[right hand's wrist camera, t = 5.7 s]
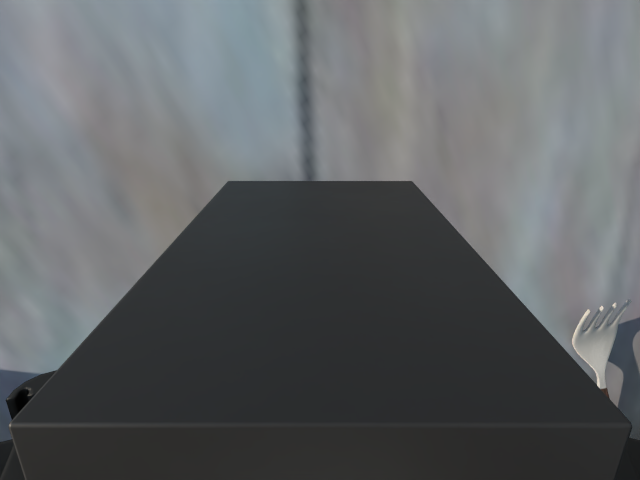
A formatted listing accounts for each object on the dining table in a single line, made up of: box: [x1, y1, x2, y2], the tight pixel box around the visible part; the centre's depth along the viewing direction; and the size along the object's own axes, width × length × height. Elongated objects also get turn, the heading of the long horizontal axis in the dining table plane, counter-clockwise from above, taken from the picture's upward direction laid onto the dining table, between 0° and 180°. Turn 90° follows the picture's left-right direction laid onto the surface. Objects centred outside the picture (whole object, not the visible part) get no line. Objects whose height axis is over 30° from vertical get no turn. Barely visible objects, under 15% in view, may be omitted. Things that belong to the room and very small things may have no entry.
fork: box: [572, 299, 631, 398], centre depth 27 cm, size 3×16×2 cm, turn 17°
